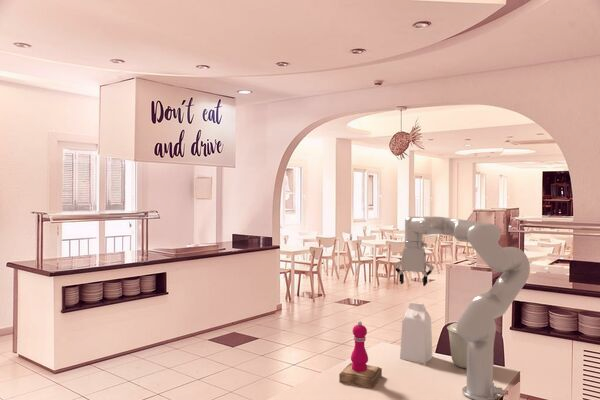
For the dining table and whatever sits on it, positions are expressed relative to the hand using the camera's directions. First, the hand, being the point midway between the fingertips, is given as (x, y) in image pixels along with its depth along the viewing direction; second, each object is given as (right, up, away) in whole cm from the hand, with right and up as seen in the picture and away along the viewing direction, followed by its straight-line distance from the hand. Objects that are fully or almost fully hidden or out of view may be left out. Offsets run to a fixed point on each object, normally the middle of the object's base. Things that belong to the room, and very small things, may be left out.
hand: (413, 284), depth 202 cm
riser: (-24, -38, -8) cm, 46 cm away
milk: (+6, -39, +19) cm, 43 cm away
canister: (+27, -39, +10) cm, 48 cm away
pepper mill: (-24, -34, -7) cm, 43 cm away
